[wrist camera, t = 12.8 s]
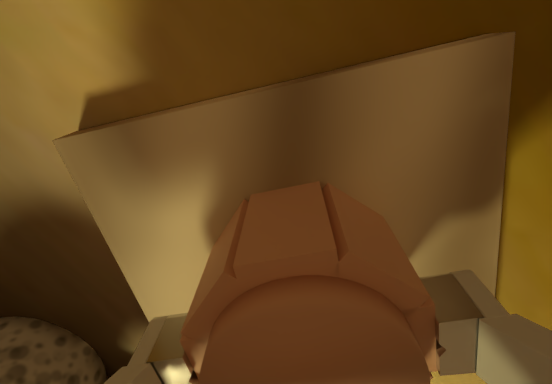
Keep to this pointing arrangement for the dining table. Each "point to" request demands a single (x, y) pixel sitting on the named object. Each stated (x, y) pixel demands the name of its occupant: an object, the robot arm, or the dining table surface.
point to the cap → (309, 297)
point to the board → (310, 163)
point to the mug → (45, 354)
